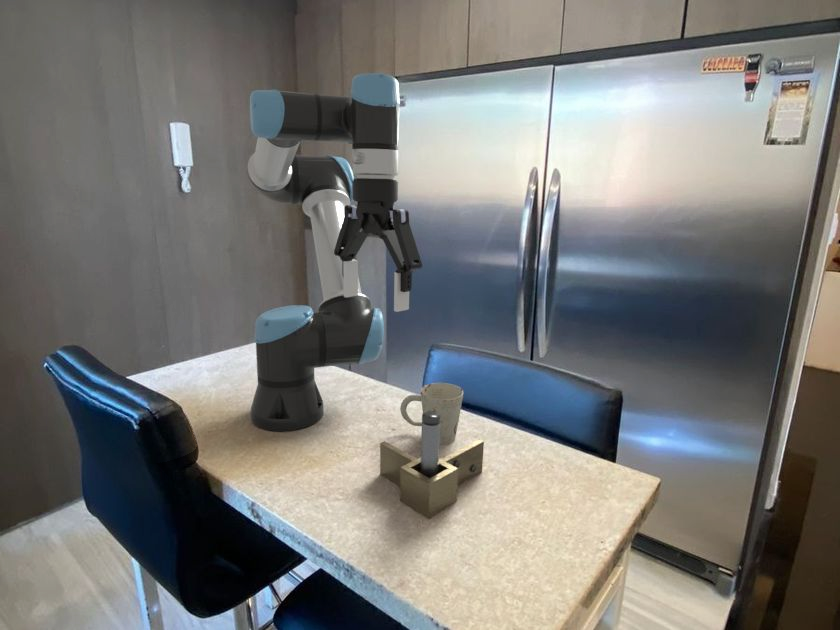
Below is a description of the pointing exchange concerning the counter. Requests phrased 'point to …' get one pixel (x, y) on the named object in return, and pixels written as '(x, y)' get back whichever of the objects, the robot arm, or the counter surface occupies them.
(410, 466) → the hinge
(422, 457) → the pin
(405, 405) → the mug
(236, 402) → the counter surface
